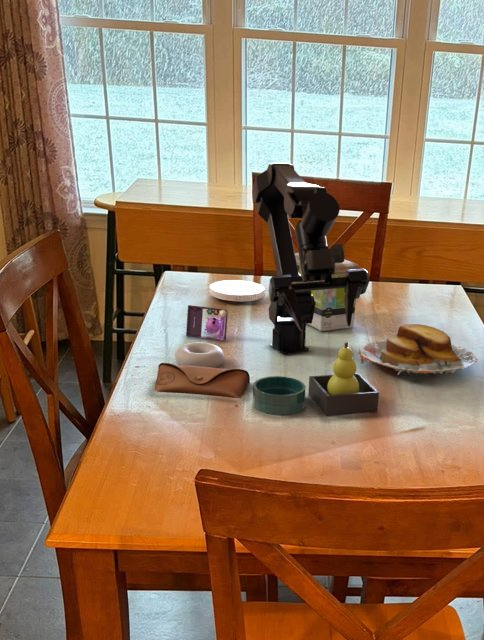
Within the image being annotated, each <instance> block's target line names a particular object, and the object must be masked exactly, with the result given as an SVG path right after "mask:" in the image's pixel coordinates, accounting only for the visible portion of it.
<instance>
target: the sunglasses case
mask: <svg viewBox="0 0 484 640" xmlns="http://www.w3.org/2000/svg"><path fill="white" fill-rule="evenodd" d="M157 367H158V369H157V374H156V375H157V376H156V381H155V386H154V391H155V392H156V393H173V394H189V395H201V396H214V397H224V398H225V397H226V398H233V399H242V396H243V395H244V394H245V392H246V391H247V388H248V385H249V384H250V383H251V377H250V374H249V372H248V371H247V370H245V369H241V368H230V369H229V368H220V367H216V368H211V367H199V366H184V365H180V364H175V363H170V362H161V363H159V364H158V366H157Z"/></svg>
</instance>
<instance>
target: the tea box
mask: <svg viewBox="0 0 484 640" xmlns="http://www.w3.org/2000/svg"><path fill="white" fill-rule="evenodd" d="M295 256H296V261H297V266H298V272H299V274H300V275H301V276H302V272H301V266H300V260H299V254H298V252H295ZM335 266H336V267H335V273H334V274H332V277H333V278H338V277H345V275H346V272H347V270H350V269H359V264H357V263H355V262H353V261H350V260H348V259H345V261H344V262H343V263H335ZM345 294H346V293H345V291H344V288H336V289H324V290H313V291H311V295H313V297H314V301H315V302H316V305H315V309H314V315H313V320H312V324H309V323H306V325H309V326H311V327H312V328H315V329H317V330H318V331H319V332H326V331H335V330H342V329H350V328H354V324H355V317H356V316H355V315H356V313H355V312H356V302H357V299H355V301H354V306H353V312H352V319H351V325H350V327H348V325H347V321H346V312H345V301H344V297H345Z"/></svg>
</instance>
